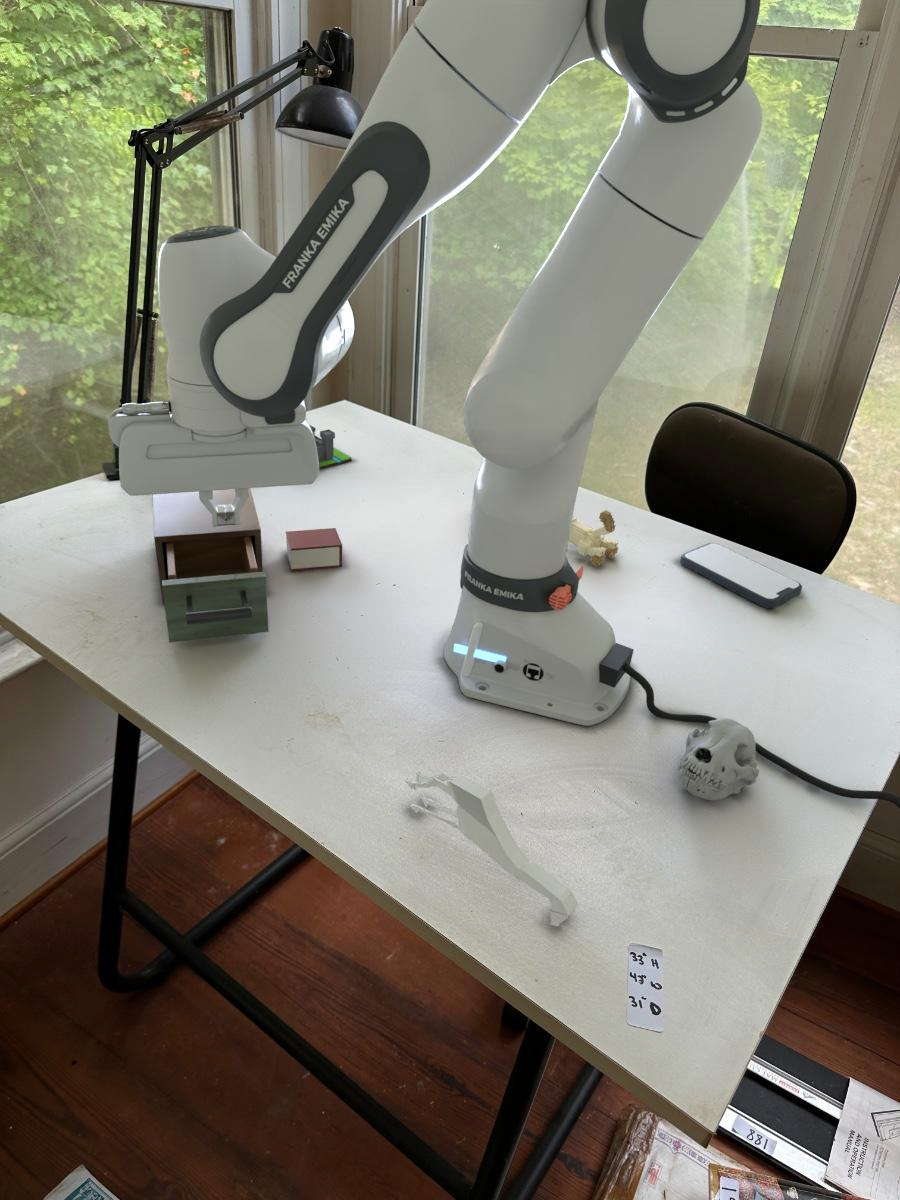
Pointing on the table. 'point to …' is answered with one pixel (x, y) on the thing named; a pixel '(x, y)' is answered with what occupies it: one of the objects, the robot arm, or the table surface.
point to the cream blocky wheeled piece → (594, 539)
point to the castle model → (328, 450)
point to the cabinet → (199, 523)
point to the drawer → (214, 589)
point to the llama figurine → (494, 837)
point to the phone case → (741, 575)
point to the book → (314, 549)
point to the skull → (719, 760)
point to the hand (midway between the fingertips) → (226, 523)
